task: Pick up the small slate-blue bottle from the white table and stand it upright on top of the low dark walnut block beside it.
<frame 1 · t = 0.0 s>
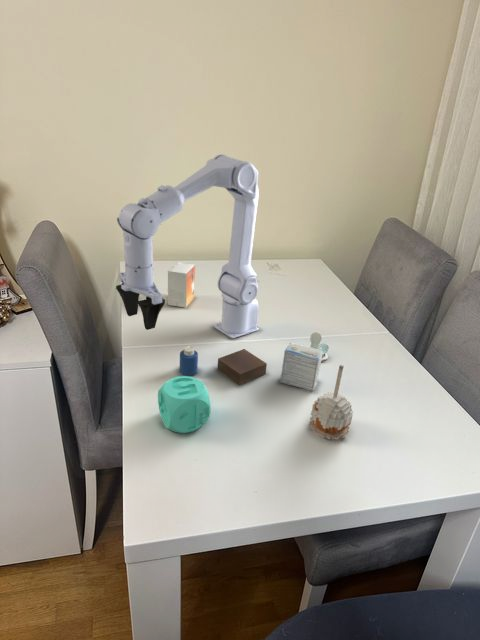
hand: (141, 321, 109), 10 cm above the table, tool pointing down, fingers open, 7 cm apart
blue bottle: (188, 371, 112), on the table
pacifier: (314, 357, 123), on the table
walnut block: (241, 371, 114), on the table
medicine box: (298, 383, 112), on the table
decorative dice: (183, 421, 97), on the table
caramel apple: (328, 429, 99), on the table
small box: (181, 302, 144), on the table
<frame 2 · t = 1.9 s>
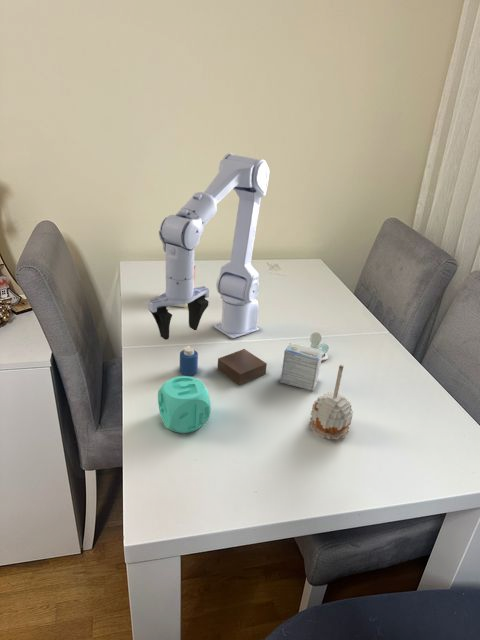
hand: (179, 333, 107), 9 cm above the table, tool pointing down, fingers open, 7 cm apart
nothing on the table moved.
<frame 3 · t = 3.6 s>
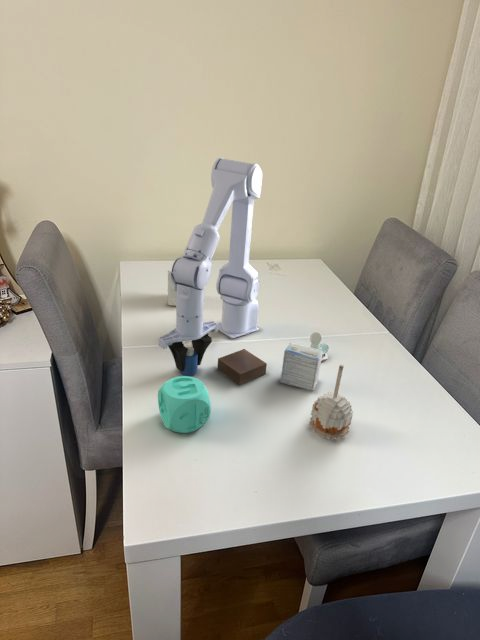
hand: (188, 366, 111), 1 cm above the table, tool pointing down, fingers closed on blue bottle, 4 cm apart
blue bottle: (188, 371, 112), on the table, touching gripper
everything else where it was.
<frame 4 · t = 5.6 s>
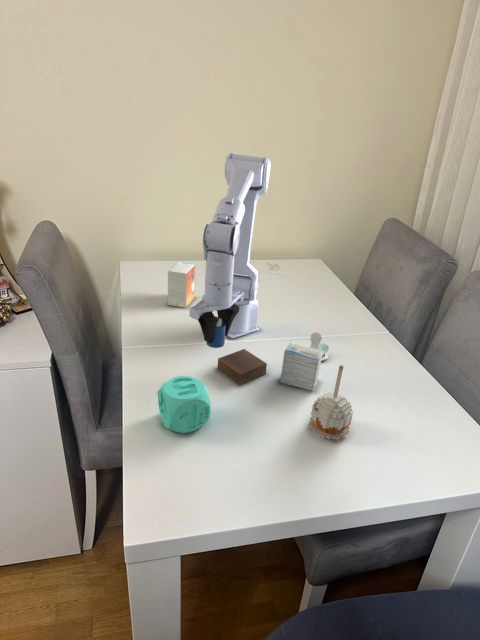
hand: (215, 338, 108), 9 cm above the table, tool pointing down, fingers closed on blue bottle, 4 cm apart
blue bottle: (215, 343, 109), point 7 cm above the table, touching gripper
everything else where it was.
when the fingers open (4 cm above the table, at t = 7.9 s): blue bottle stays where it is, resting on walnut block.
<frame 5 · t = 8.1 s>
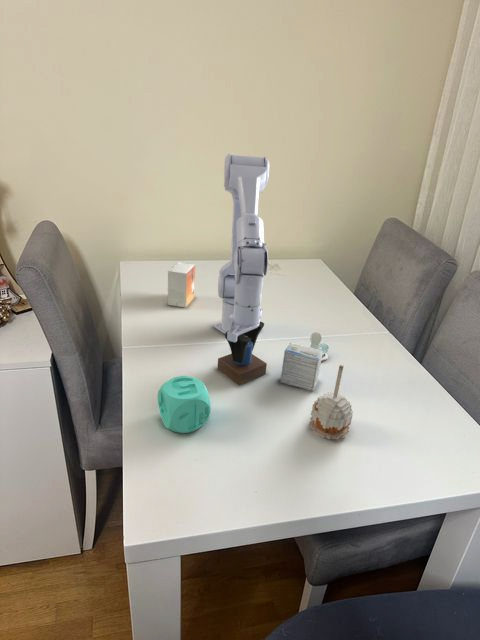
hand: (242, 356, 112), 4 cm above the table, tool pointing down, fingers open, 5 cm apart
blue bottle: (242, 361, 112), point 3 cm above the table, touching walnut block
everything else where it was.
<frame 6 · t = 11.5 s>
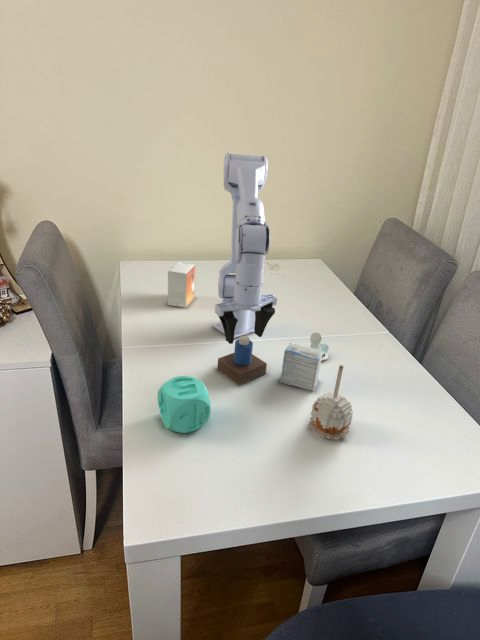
hand: (243, 338, 109), 9 cm above the table, tool pointing down, fingers open, 7 cm apart
nothing on the table moved.
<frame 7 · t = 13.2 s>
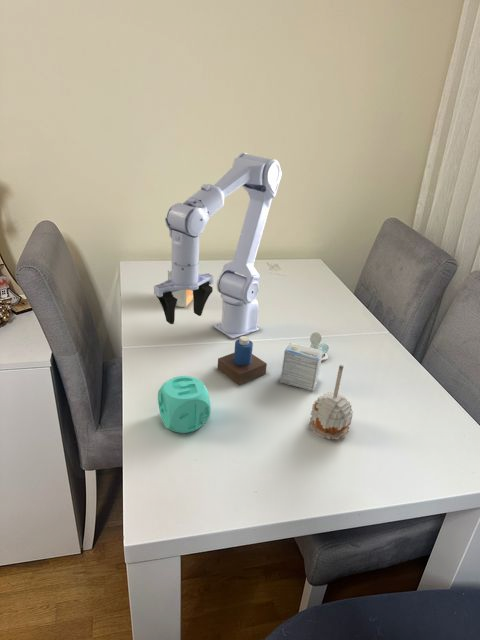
hand: (184, 318, 112), 10 cm above the table, tool pointing down, fingers open, 7 cm apart
nothing on the table moved.
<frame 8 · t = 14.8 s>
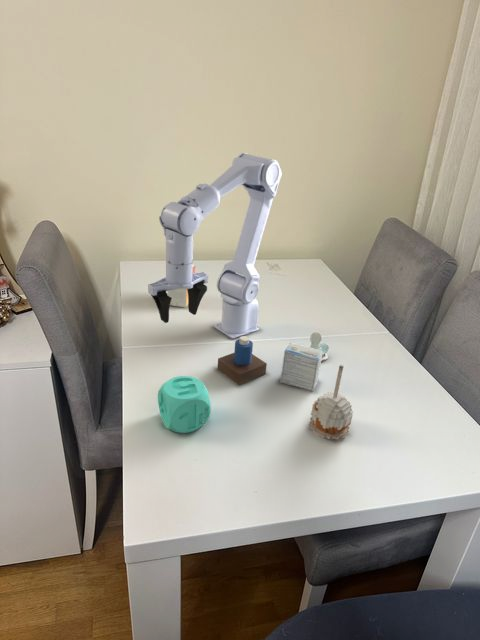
hand: (178, 316, 112), 10 cm above the table, tool pointing down, fingers open, 7 cm apart
nothing on the table moved.
at the end: blue bottle 0.0 cm off-centre on the walnut block, point 3.0 cm above the walnut block's base; blue bottle tilted 0°; blue bottle touching walnut block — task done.
